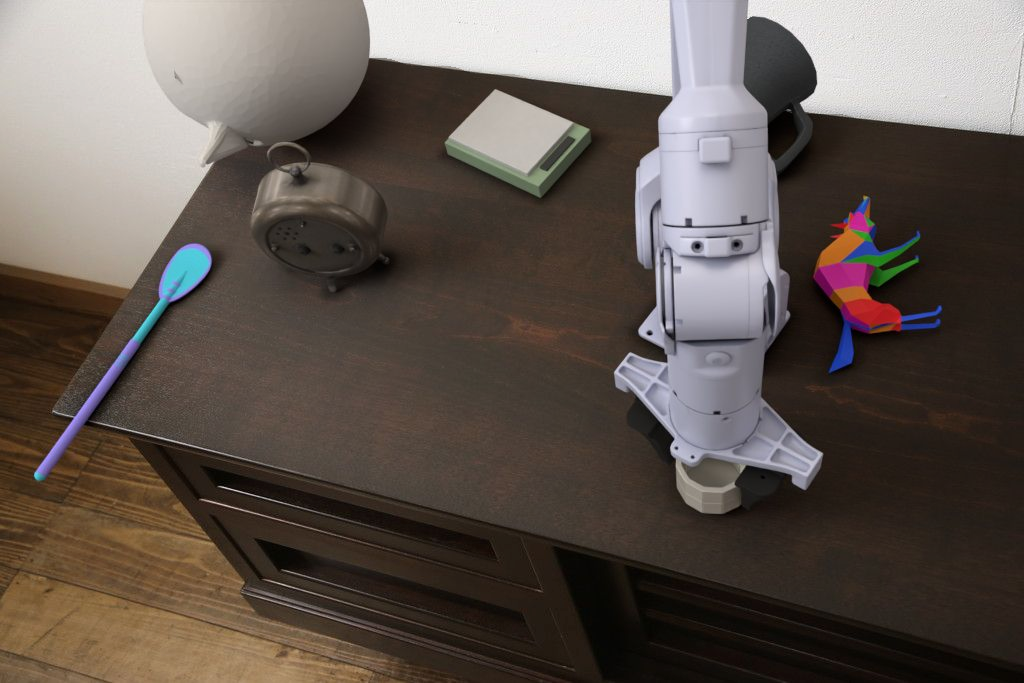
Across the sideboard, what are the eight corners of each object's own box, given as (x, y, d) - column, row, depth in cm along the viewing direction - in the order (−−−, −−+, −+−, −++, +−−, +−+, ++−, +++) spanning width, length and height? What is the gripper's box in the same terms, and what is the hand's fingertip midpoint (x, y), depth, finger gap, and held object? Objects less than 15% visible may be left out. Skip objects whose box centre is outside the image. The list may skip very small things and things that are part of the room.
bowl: (763, 474, 79) (765, 448, 76) (725, 529, 77) (726, 505, 74) (701, 440, 81) (701, 414, 78) (663, 493, 79) (661, 468, 76)
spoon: (185, 245, 100) (181, 237, 99) (222, 258, 99) (218, 250, 98) (19, 474, 88) (12, 467, 87) (59, 491, 87) (53, 484, 86)
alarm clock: (404, 248, 96) (356, 115, 83) (394, 297, 93) (343, 167, 80) (287, 249, 98) (222, 120, 85) (274, 297, 95) (204, 171, 82)
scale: (591, 141, 100) (589, 125, 98) (540, 198, 97) (537, 182, 95) (498, 101, 105) (495, 85, 103) (447, 154, 102) (443, 138, 100)
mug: (724, 51, 101) (643, 128, 98) (751, -3, 92) (663, 80, 90) (821, 136, 99) (741, 217, 97) (857, 89, 91) (771, 176, 88)
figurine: (904, 173, 86) (789, 198, 88) (952, 338, 79) (827, 361, 81) (903, 201, 89) (793, 225, 91) (949, 362, 82) (829, 384, 84)
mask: (246, -32, 113) (77, -41, 97) (361, -121, 102) (192, -148, 86) (319, 166, 113) (164, 188, 97) (442, 98, 102) (288, 111, 86)
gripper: (581, 369, 68) (598, 468, 79) (788, 482, 62) (775, 572, 73) (643, 292, 71) (651, 398, 82) (847, 392, 65) (826, 493, 76)
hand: (713, 475), depth 78 cm, fingers open, 6 cm apart
